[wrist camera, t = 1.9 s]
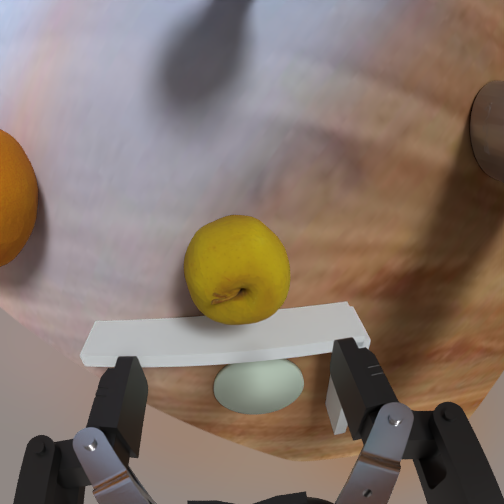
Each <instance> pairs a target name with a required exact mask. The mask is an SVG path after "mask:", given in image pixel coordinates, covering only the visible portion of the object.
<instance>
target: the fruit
mask: <svg viewBox="0 0 504 504" xmlns="http://www.w3.org/2000/svg"><path fill="white" fill-rule="evenodd" d="M37 206H38V186H37V180H36V176H35V173H34V170H33V167H32V165H31V163H30V161H29V159H28V157H27V155H26V154H25V152H24V150H23V148H22V147H21V146H20V144H19V143H18V142H17V141H16V140H15V139H14V138H13V137H12V136H11V135H9V134H8V133H6V132H4V131H3V130H1V129H0V267H1V266H3V265H6V264H8V263H9V262H10V261H12V260H13V259H14V258H15V257H16V256H17V255H18V254H19V253H20V251H21V250H22V248H23V247H24V245H25V244H26V242H27V241H28V239H29V237H30V235H31V233H32V230H33V228H34V224H35V220H36V215H37Z"/></svg>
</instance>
